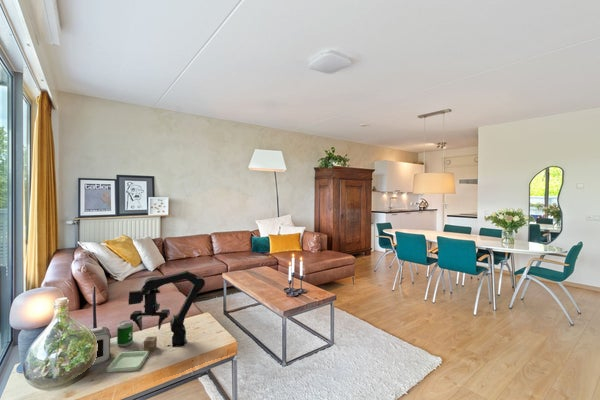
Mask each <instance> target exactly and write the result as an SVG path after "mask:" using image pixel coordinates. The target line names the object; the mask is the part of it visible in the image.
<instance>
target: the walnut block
mask: <svg viewBox="0 0 600 400" xmlns="http://www.w3.org/2000/svg"><path fill="white" fill-rule="evenodd" d="M157 340H158V339H157V336H147V337H146V338H145V339H144V340H143V344H142V345H143V348H142V349H143V350H142V351H149V353H154V352H155V350H156V349H157Z"/></svg>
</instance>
